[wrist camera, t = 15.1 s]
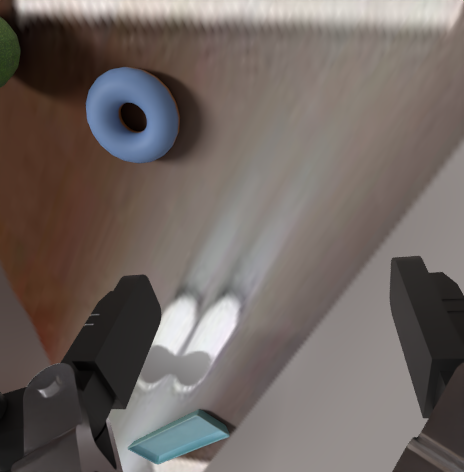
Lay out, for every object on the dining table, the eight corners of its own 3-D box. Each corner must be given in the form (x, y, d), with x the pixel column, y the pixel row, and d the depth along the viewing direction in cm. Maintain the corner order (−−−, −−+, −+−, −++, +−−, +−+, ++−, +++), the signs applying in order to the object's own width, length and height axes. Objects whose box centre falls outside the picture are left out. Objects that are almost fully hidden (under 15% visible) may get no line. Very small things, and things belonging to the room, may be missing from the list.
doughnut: (182, 66, 36) (165, 77, 33) (186, 158, 42) (173, 175, 39) (93, 58, 38) (67, 67, 34) (109, 147, 44) (89, 163, 40)
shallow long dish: (160, 456, 87) (157, 467, 85) (129, 439, 84) (125, 450, 82) (232, 424, 75) (230, 436, 72) (199, 403, 72) (196, 415, 70)
